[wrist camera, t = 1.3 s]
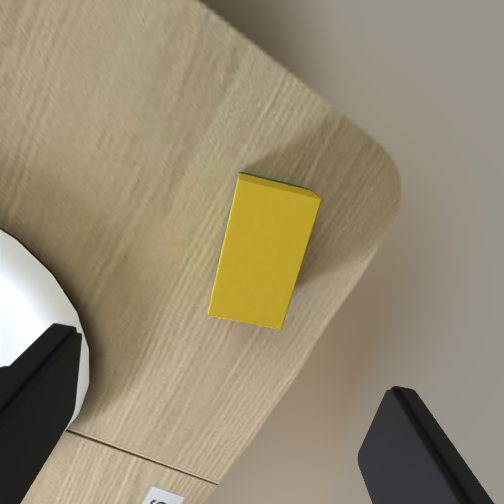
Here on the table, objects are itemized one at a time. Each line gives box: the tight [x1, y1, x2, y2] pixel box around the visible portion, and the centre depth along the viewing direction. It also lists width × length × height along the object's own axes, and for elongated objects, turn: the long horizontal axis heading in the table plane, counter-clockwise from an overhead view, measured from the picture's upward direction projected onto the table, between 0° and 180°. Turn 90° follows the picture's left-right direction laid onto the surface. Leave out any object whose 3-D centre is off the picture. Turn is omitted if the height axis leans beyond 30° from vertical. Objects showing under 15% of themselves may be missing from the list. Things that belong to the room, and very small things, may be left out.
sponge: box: [208, 172, 321, 330], centre depth 23 cm, size 9×5×5 cm, turn 166°
